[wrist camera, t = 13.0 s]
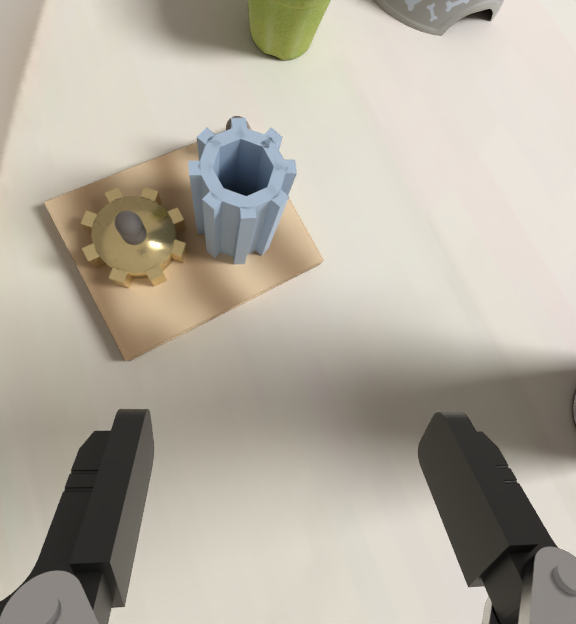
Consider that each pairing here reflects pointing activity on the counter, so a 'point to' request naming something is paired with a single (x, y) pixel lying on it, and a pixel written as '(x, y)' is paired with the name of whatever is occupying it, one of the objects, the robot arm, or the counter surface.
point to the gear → (142, 257)
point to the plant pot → (285, 25)
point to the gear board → (180, 276)
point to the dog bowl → (435, 12)
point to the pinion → (239, 189)
